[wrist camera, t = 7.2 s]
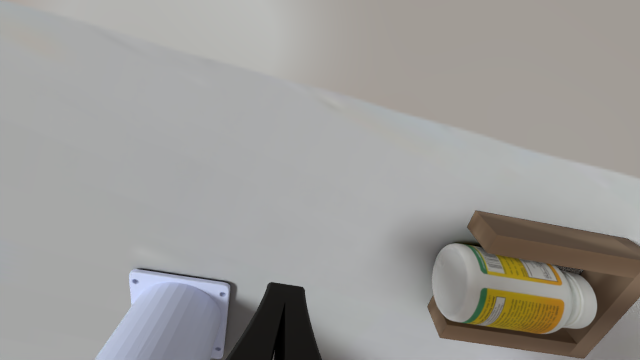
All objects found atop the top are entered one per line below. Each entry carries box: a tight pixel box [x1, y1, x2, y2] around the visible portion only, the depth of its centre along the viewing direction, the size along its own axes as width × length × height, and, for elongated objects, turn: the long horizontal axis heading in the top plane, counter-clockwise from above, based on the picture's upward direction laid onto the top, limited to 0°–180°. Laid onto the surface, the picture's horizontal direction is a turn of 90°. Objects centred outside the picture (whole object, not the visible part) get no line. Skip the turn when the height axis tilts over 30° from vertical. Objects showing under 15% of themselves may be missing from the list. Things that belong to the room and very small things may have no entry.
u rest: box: [427, 211, 640, 359], centre depth 23 cm, size 10×12×3 cm
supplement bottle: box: [432, 243, 597, 334], centre depth 22 cm, size 5×5×10 cm
